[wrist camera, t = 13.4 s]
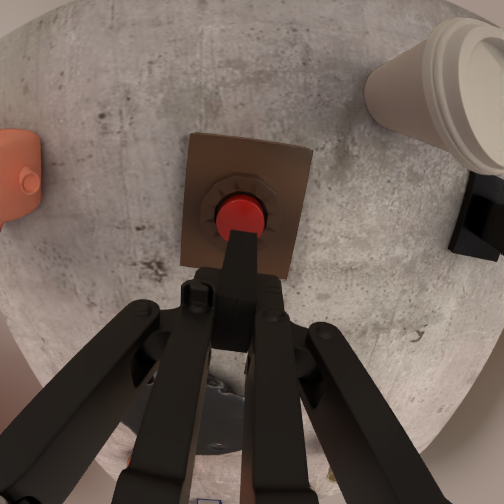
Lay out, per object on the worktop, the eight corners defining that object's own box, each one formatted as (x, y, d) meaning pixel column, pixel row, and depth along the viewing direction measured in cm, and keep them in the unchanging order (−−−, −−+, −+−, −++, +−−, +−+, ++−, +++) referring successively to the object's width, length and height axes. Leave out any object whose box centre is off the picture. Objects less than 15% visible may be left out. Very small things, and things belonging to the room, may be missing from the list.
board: (260, 438, 44) (261, 462, 39) (136, 425, 43) (130, 448, 39) (272, 349, 35) (275, 381, 30) (101, 335, 34) (86, 361, 30)
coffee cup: (449, 120, 23) (563, 142, 9) (382, 165, 25) (486, 216, 12) (402, 37, 20) (507, -2, 6) (327, 77, 22) (407, 37, 9)
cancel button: (221, 191, 23) (218, 196, 21) (267, 197, 23) (268, 203, 22) (216, 233, 25) (213, 242, 23) (260, 239, 25) (260, 248, 23)
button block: (195, 132, 24) (185, 134, 21) (308, 147, 25) (318, 152, 21) (184, 255, 29) (175, 275, 26) (284, 268, 30) (288, 290, 26)
